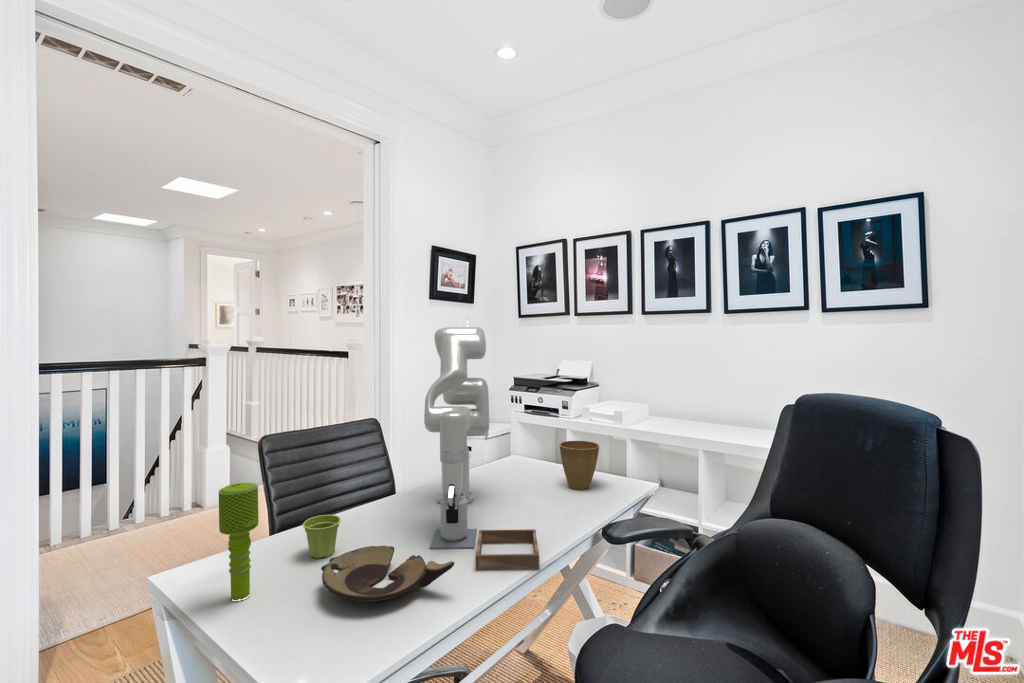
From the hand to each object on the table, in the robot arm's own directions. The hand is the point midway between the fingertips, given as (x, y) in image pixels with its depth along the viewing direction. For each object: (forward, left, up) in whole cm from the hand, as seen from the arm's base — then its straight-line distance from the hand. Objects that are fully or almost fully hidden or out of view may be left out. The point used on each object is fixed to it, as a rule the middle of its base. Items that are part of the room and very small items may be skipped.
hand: (454, 516), depth 137 cm
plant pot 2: (-45, +42, -7) cm, 62 cm away
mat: (0, 0, -6) cm, 6 cm away
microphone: (+29, -44, -7) cm, 53 cm away
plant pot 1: (+8, -34, -7) cm, 36 cm away
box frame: (+10, +15, -6) cm, 19 cm away
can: (0, 0, -6) cm, 6 cm away
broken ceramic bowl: (+27, -13, -7) cm, 31 cm away
